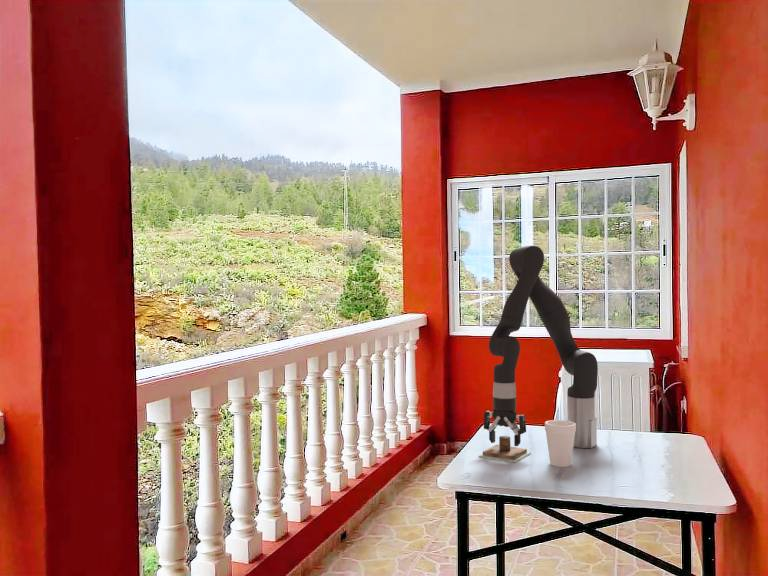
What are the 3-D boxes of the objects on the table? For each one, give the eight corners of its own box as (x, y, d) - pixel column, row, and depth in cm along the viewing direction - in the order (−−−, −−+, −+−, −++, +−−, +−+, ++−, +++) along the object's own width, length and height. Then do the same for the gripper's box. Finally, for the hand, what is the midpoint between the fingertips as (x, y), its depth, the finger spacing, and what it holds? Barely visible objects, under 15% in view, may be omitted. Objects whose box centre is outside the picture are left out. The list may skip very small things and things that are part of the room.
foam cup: (563, 470, 203) (563, 427, 203) (539, 463, 210) (539, 422, 210) (581, 464, 209) (581, 423, 209) (557, 458, 216) (557, 418, 216)
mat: (530, 453, 222) (530, 452, 222) (515, 462, 212) (515, 461, 212) (495, 448, 230) (495, 447, 230) (478, 457, 219) (478, 455, 219)
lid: (526, 452, 222) (526, 435, 222) (513, 460, 213) (513, 442, 213) (496, 448, 228) (496, 431, 228) (482, 455, 219) (482, 438, 219)
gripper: (529, 395, 219) (529, 444, 220) (489, 392, 227) (489, 439, 228) (520, 399, 213) (520, 449, 213) (480, 395, 221) (480, 443, 221)
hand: (504, 444), depth 221 cm, fingers open, 8 cm apart
